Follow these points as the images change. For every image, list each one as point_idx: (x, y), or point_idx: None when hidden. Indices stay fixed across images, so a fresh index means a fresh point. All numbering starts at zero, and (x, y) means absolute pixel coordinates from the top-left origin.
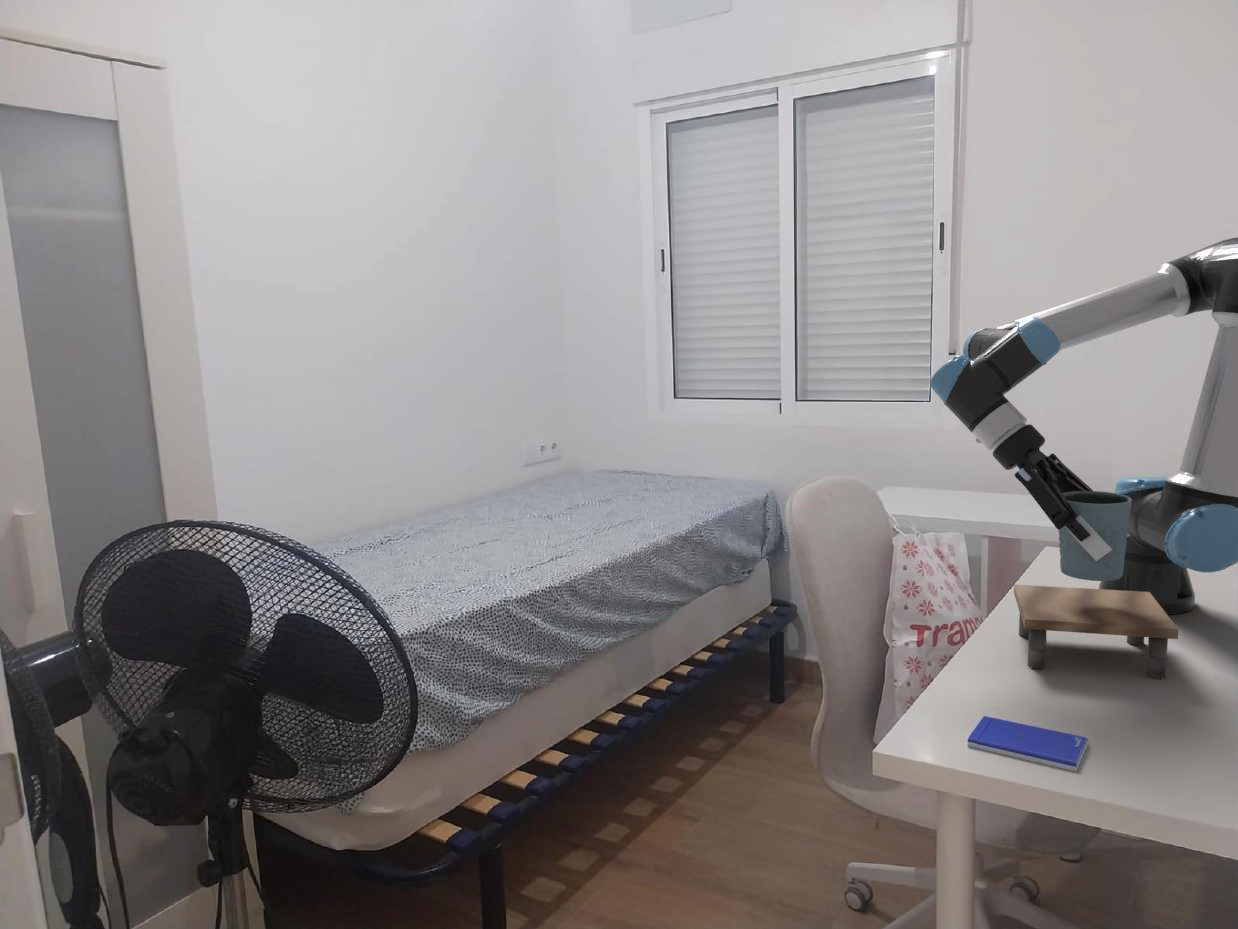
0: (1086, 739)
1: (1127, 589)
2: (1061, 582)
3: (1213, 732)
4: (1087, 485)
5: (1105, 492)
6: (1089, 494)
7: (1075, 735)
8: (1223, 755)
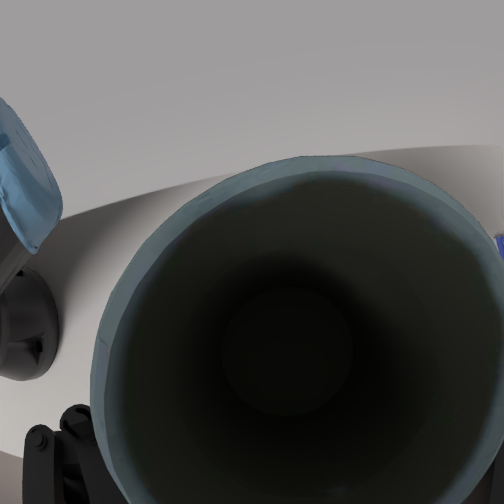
0: (501, 236)
1: (32, 340)
2: (16, 424)
3: (406, 158)
4: (22, 492)
5: (103, 398)
6: (142, 481)
7: (502, 246)
8: (437, 149)
